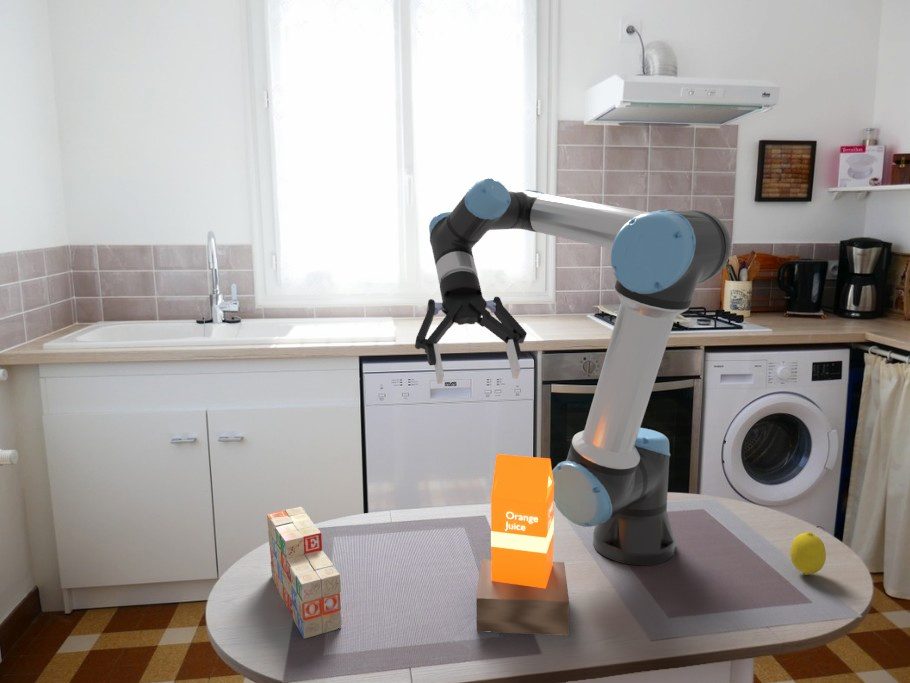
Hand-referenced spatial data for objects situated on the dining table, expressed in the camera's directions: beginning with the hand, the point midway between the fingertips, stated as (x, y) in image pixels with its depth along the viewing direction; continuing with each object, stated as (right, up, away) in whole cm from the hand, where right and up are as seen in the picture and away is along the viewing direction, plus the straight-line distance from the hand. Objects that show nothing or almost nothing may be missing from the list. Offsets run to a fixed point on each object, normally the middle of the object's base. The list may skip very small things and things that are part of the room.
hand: (479, 377), depth 121 cm
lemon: (+57, -35, +2) cm, 67 cm away
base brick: (+7, -38, -8) cm, 39 cm away
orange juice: (+7, -32, -7) cm, 33 cm away
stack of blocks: (-29, -37, -4) cm, 48 cm away
